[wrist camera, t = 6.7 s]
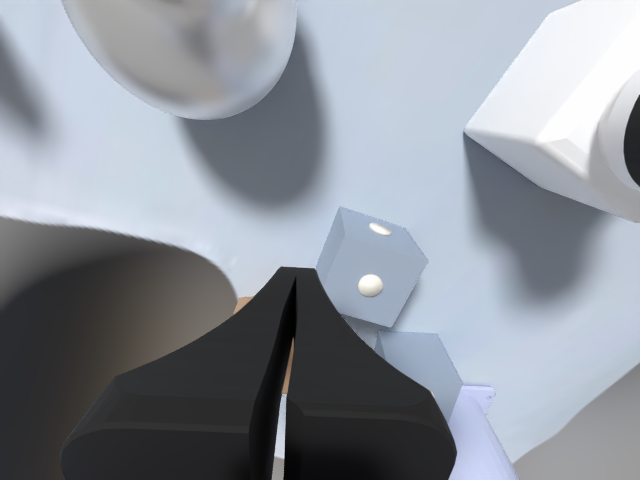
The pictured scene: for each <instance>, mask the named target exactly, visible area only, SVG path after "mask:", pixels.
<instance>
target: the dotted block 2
mask: <svg viewBox="0 0 640 480" xmlns="http://www.w3.org/2000/svg"><path fill="white" fill-rule="evenodd" d="M375 352H376V353H377V354H378V355H379V356H381V357H382V358H383V359H384V360H386V361H387V362H388V363H390V364H391V365H392V366H393V367H395V368H396V369H397V370H399V371H400V372H402V373H403V374H405V375H406V376H408V377H410V378H411V379H413V380H414V381H416V382H417V383H419V384H420V385H422V386H424V387H425V388H427V389H428V390H430V391H431V393H432V395H433V397H434V399H435V401H436V402H437V404H438V406H439V408H440V410H441V412H442V414H443V415H444V417H445V419H446V421H447V424H448V423H449V420H450V417H451V415H452V412H453V409H454V406H455V404H456V401H457V398H458V395H459V393H460V390H461V387H462V384H463V382H462V380H461V378H460V376H459V374H458V372H457V370H456V369H455V367H454V365H453V363H452V361H451V359H450V357H449V355H448V353H447V351H446V349H445V347H444V345H443V343H442V341H441V340H440V338H439V336H438V334H434V333H415V332H395V331H378V335H377V341H376V346H375Z"/></svg>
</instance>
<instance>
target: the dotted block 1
mask: <svg viewBox="0 0 640 480" xmlns="http://www.w3.org/2000/svg"><path fill="white" fill-rule="evenodd" d="M427 263H428V259H427V258H426V257H425V255H424V254H423V252H422V251H421V249H420V248H419V247H418V245H417V244H416V242H415V241H414V239H413V238H412V237H411V235H410V234H409V232H408V231H407V230H406V228H404V227H401V226H398V225H395V224H392V223H389V222H386V221H383V220H380V219H377V218H374V217H371V216H368V215H365V214H362V213H359V212H355V211H352V210H349V209H346V208H343V207H340V206H339V209H338V211H337V214H336V217H335V219H334V222H333V224H332V227H331V229H330V232H329V235H328V237H327V240H326V242H325V245H324V247H323V250H322V253H321V255H320V258H319V260H318V263H317V266H316V271H317V273H318V276H319V279H320V281H321V284H322V286H323V288H324V290H325V291H326V293H327V295H328V297H329V298H330V300H331V302H332V303H333V305H334V306H335V308H336V309H337V311H338V312H339V313H340V314H344V315H347V316H351V317H355V318H358V319H362V320H365V321H369V322H372V323H376V324H379V325H383V326H387V327H390V328H392V326H393V324H394V322H395V320H396V319H397V317H398V315H399V313H400V311H401V310H402V308H403V306H404V304H405V302H406V301H407V299H408V297H409V295H410V293H411V292H412V290H413V288H414V286H415V284H416V283H417V281H418V279H419V277H420V275H421V274H422V272H423V270H424V268H425V266H426V265H427Z"/></svg>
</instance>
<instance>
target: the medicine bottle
mask: <svg viewBox="0 0 640 480" xmlns="http://www.w3.org/2000/svg"><path fill="white" fill-rule="evenodd" d="M464 132H465V133H466V135H468V136H469V137H470V138H472V139H473V140H475V141H476V142H477V143H479V144H480V145H482V146H483V147H484V148H486V149H487V150H489V151H490V152H491V153H493V154H494V155H496V156H497V157H498V158H500V159H501V160H503V161H504V162H506V163H507V164H508V165H510V166H511V167H513V168H514V169H515V170H517V171H518V172H520V173H521V174H522V175H524V176H525V177H527V178H528V179H529V180H531V181H532V182H534V183H535V184H536V185H538V186H539V187H541V188H544V189H546V190H549V191H552V192H554V193H557V194H560V195H562V196H565V197H568V198H570V199H573V200H576V201H578V202H581V203H584V204H586V205H589V206H592V207H594V208H597V209H600V210H602V211H605V212H608V213H610V214H613V215H616V216H619V217H621V218H624V219H627V220H629V221H632V222H635V223H640V0H582V1H579V2H577V3H574V4H572V5H569V6H567V7H564V8H562V9H559V10H557V11H554V12H552V13H550V14H549V15H548V16H547V17H546V18H545V19H544V21H543V22H542V23H541V25H540V26H539V28H538V29H537V30H536V32H535V33H534V34H533V36H532V37H531V38H530V40H529V41H528V42H527V44H526V45H525V46H524V48H523V49H522V50H521V52H520V53H519V55H518V56H517V57H516V59H515V60H514V61H513V63H512V64H511V65H510V67H509V68H508V69H507V71H506V72H505V73H504V75H503V76H502V77H501V79H500V80H499V82H498V83H497V84H496V86H495V87H494V88H493V90H492V91H491V92H490V94H489V95H488V96H487V98H486V99H485V100H484V102H483V103H482V104H481V106H480V107H479V108H478V110H477V111H476V113H475V114H474V115H473V117H472V118H471V119H470V121H469V122H468V123H467V125H466V126H465V128H464Z"/></svg>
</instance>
